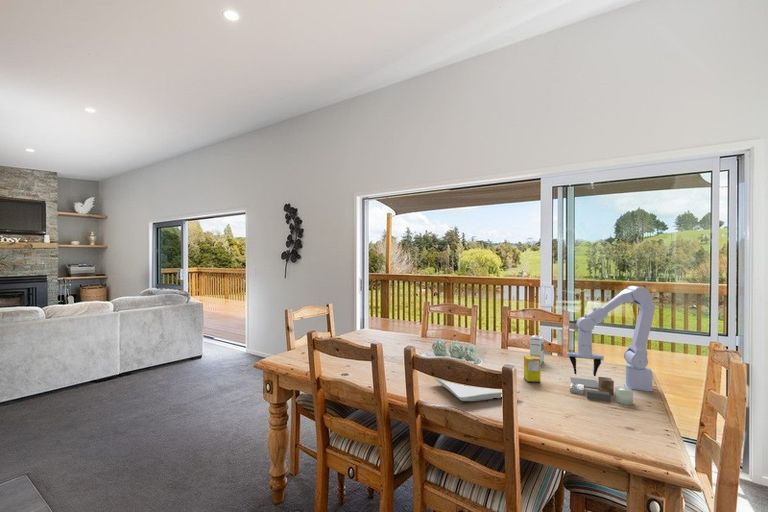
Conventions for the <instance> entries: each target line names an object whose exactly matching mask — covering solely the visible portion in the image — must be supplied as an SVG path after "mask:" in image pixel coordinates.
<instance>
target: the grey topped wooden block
mask: <svg viewBox="0 0 768 512" xmlns="http://www.w3.org/2000/svg"><path fill="white" fill-rule="evenodd" d="M584 391H585V387H584V385H582V384H576V383H571V382H570V386H569V393H571V394H577V395H584Z"/></svg>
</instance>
